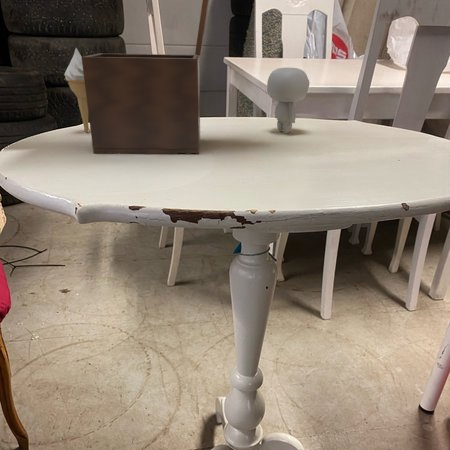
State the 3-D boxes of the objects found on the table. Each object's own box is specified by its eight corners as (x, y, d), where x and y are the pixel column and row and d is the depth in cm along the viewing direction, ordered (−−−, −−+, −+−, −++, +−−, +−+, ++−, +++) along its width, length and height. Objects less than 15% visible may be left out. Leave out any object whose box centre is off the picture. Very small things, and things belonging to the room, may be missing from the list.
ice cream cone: (69, 134, 91) (56, 47, 84) (76, 129, 96) (64, 46, 88) (98, 135, 91) (88, 48, 84) (103, 130, 96) (94, 47, 89)
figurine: (310, 134, 95) (317, 68, 89) (278, 137, 92) (282, 69, 86) (289, 127, 101) (294, 66, 95) (259, 130, 98) (262, 66, 92)
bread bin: (93, 153, 78) (81, 56, 71) (107, 138, 89) (98, 53, 82) (198, 154, 78) (197, 58, 71) (200, 139, 89) (199, 54, 82)
